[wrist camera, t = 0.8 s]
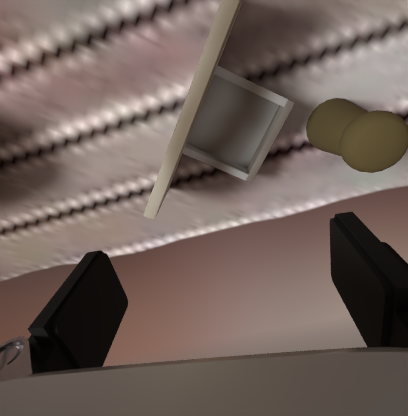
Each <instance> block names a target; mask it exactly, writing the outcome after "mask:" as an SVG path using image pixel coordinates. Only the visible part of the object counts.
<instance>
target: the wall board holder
mask: <svg viewBox="0 0 408 416" xmlns="http://www.w3.org/2000/svg"><path fill="white" fill-rule="evenodd" d="M242 2H243V0H222V1H221V4H220V6H219V9H218V12H217V15H216V17H215V20H214V23H213V26H212V28H211V31H210V34H209V37H208V39H207V42H206V45H205V48H204V50H203V53H202V56H201V59H200V61H199V64H198V67H197V70H196V72H195V75H194V78H193V81H192V83H191V86H190V89H189V92H188V94H187V97H186V100H185V103H184V105H183V108H182V111H181V114H180V116H179V119H178V122H177V125H176V127H175V130H174V133H173V136H172V138H171V141H170V144H169V147H168V149H167V152H166V155H165V158H164V160H163V163H162V166H161V169H160V171H159V174H158V177H157V180H156V182H155V185H154V188H153V191H152V193H151V196H150V199H149V202H148V204H147V207H146V210H145V213H144V215H143V216H145V217H148V218H150V219H153V220H154V219H155V217H156V215H157V213H158V211H159V209H160V207H161V205H162V202H163V200H164V198H165V196H166V194H167V192H168V190H169V188H170V185H171V183H172V180H173V177H174V175H175V172H176V170H177V167H178V165H179V162H180V160H181V157H182V155H183V154H185V155H187V156H189V157H192V158H194V159H196V160H199V161H201V162H203V163H206V164H208V165H210V166H213V167H215V168H217V169H220V170H222V171H224V172H227V173H229V174H231V175H234V176H236V177H238V178H241V179H243V180H245V181H248V182H250V183H252V181H253V180H254V178H255V176H256V174H257V172H258V170H259V168H260V167H261V165H262V163H263V161H264V159H265V157H266V156H267V154H268V152H269V150H270V148H271V146H272V144H273V143H274V141H275V139H276V137H277V135H278V133H279V132H280V130H281V128H282V126H283V124H284V122H285V120H286V119H287V117H288V115H289V113H290V111H291V109H292V108H293V106H294V104H295V103H294V102H292V101H290V100H288V99H286V98H284V97H282V96H280V95H278V94H276V93H274V92H271V91H269V90H267V89H265V88H263V87H261V86H259V85H257V84H255V83H253V82H251V81H249V80H247V79H244V78H242V77H240V76H238V75H236V74H234V73H232V72H230V71H228V70H226V69H224V68H222V67H220V66H218V63H219V61H220V58H221V56H222V53H223V50H224V48H225V45H226V43H227V40H228V38H229V35H230V33H231V30H232V28H233V25H234V22H235V20H236V17H237V15H238V12H239V10H240V7H241V5H242Z"/></svg>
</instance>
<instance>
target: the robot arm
mask: <svg viewBox="0 0 408 416" xmlns="http://www.w3.org/2000/svg"><path fill="white" fill-rule="evenodd" d="M330 253H331V277H332V280H333V283H334V285H335V287H336V288H337V290H338V292H339V294H340V296H341V298H342V300H343V302H344V303H345V305H346V307H347V309H348V311H349V313H350V315H351V317H352V318H353V321H354V322H355V324H356V326H357V328H358V330H359V332H360V334H361V336H362V337H363V339H364V341H365V343H366V345H367V348H366V347H363V348H345V349H344V348H343V349H325V350H309V351H296V352H295V351H294V352H281V353H267V354H254V355H241V356H228V357H214V358H202V359H191V360H190V359H189V360H177V361H165V362H153V363H140V364H129V365H118V366H106V367H102V366H103V363H104V361H105V359H106V357H107V354H108V352H109V349H110V347H111V345H112V342H113V340H114V337H115V335H116V333H117V330H118V328H119V325H120V323H121V321H122V318H123V316H124V314H125V311H126V309H127V306H128V299H127V296H126V294H125V292H124V290H123V288H122V285H121V284H120V281H119V279H118V277H117V274H116V272H115V270H114V268H113V266H112V264H111V261H110V259H109V257H108V255H107V254H106V253H103V252H102V251H94V252H89V253H87V254H86V255H85V256H84V257H83V259H82V260H81V261H80V262H79V264H78V265H77V266H76V268H75V269H74V270H73V272H72V273H71V274H70V275H69V277H68V278H67V279H66V281H65V282H64V283H63V284H62V286H61V287H60V288H59V290H58V291H57V292H56V293H55V295H54V296H53V297H52V298H51V300H50V301H49V302H48V304H47V305H46V306H45V307H44V309H43V310H42V311H41V313H40V314H39V315H38V316H37V318H36V319H35V320H34V322H33V323H32V324H31V325H30V327H29V328H28V330H29V332H30V333H31V334H32V335H31V336H30V338H29V339H28V338H26V337H24V336H18V337H15V338H12V339H10V340H8V341H6V342H4V343H2V344H1V345H0V416H408V264H407V263H406V262H405V261H404V260H403V259H402V258H401V257H400V256H399V254H398V253H396V251H395V250H394V249H393V248H392V247H391V246H390V245H388V244H387V243H385V242H380V240H379V239H378V238H377V237H376V236H375V235H374V234H373V233H372V232H371V231H370V230H369V229H368V228H367V227H366V226H365V225H364V224H363V223H362V222H361V220H360V219H359V218H358V217H357V216H356V215H355V214H354V213H353V212H347V213H340V214H335V217H334V218H332V219H330Z"/></svg>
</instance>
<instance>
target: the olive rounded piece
mask: <svg viewBox="0 0 408 416" xmlns="http://www.w3.org/2000/svg"><path fill="white" fill-rule="evenodd" d="M306 131H307V137H308V139H309V141H310V143H311V144H312V145H313V146H314V147H315V148H317V149H320V150H322V151H325V152H329V153H332V154H335V155H339V156H342V158H343V160H344V161H345V162H346V163H347V164H348V165H349V166H350V167H351V168H353V169H356V170H358V171H361V172H370V173H373V172H378V171H382V170H385V169H387V168H389V167H391V166H393V165H394V164H395V163H397V162H398V161H399V160H400V159H401V158H402V156H403V155H404V154H405V153H406V150H407V148H408V125H407V124H406V123H405V121H404V120H403V119H402V118H401V117H400V116H398V115H396V114H394V113H392V112H388V111H378V110H376V111H372V112H368V111H366V110H364V109H363V108H361V107H359V106H357V105H356V104H354V103H352V102H350V101H348V100H346V99H340V98H335V99H330V100H327V101H325V102H323V103H322V104H320V105H319V106H318V107H317V108H316V109H315V110H314V111H313V112H312V114H311V115H310V117H309V119H308V122H307V127H306Z"/></svg>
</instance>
